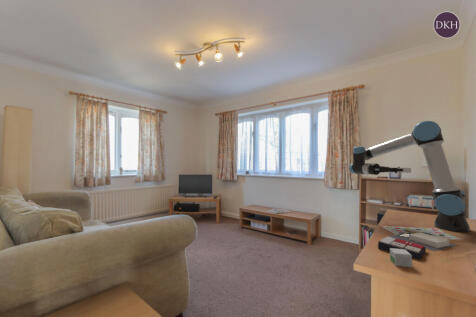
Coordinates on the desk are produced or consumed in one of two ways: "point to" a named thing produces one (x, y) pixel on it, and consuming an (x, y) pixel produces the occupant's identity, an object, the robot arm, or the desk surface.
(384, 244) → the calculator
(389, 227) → the desk surface
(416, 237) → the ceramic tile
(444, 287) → the desk surface
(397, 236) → the tile mat
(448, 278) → the desk surface
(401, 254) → the small box
